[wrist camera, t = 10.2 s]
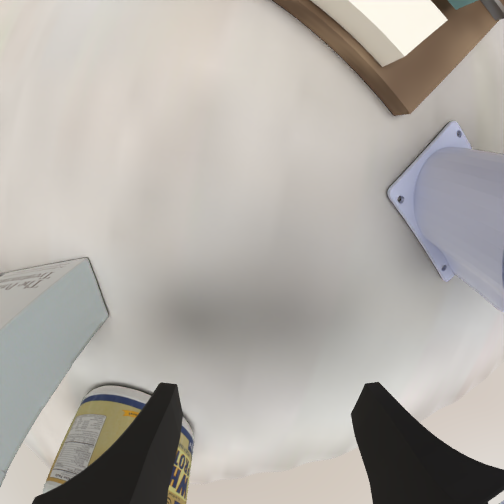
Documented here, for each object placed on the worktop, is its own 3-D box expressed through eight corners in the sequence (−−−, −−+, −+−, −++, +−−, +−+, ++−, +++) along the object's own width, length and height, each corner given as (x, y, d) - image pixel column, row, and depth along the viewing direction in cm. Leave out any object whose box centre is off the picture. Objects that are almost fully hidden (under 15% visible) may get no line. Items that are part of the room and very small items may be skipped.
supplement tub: (217, 441, 25) (209, 580, 9) (134, 449, 27) (108, 558, 11) (147, 369, 21) (92, 557, 5) (66, 387, 23) (7, 509, 7)
